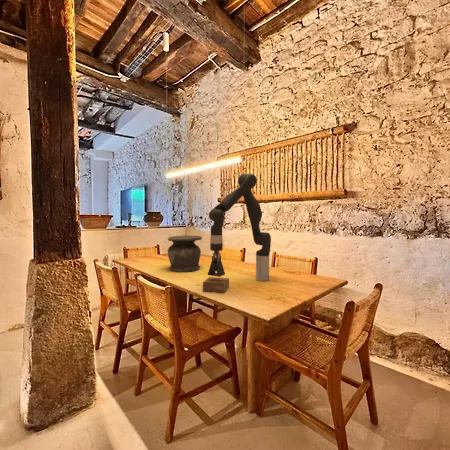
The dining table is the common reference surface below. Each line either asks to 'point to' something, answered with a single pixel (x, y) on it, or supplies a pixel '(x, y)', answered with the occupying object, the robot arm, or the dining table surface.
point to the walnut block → (216, 285)
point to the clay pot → (184, 253)
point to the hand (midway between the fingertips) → (216, 269)
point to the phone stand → (219, 268)
